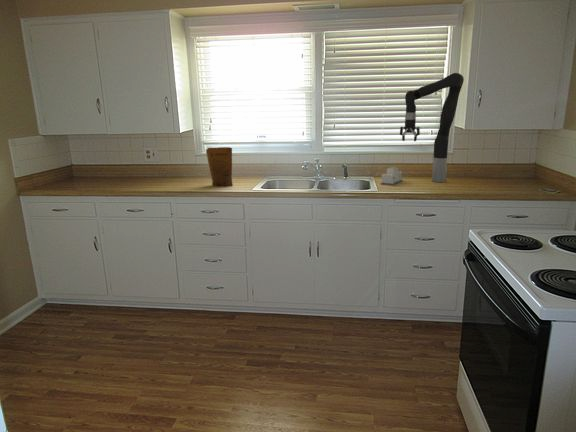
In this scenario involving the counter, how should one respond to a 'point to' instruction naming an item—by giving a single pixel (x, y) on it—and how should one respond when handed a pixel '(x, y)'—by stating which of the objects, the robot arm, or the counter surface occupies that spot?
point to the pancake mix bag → (220, 165)
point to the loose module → (393, 172)
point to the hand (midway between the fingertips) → (409, 141)
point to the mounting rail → (391, 179)
